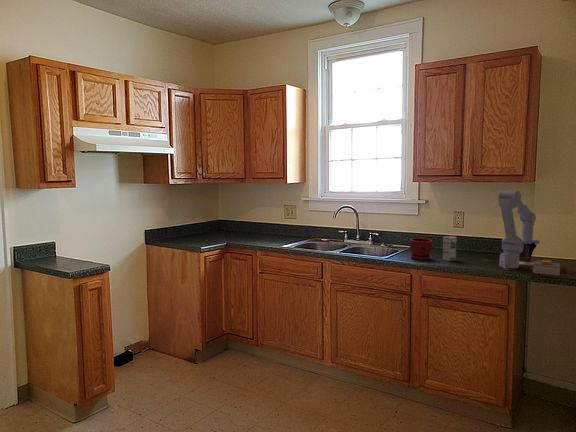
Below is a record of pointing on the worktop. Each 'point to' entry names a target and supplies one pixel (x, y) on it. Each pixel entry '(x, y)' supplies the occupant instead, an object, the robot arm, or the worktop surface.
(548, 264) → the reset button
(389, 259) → the worktop surface
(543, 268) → the switch box
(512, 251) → the robot arm
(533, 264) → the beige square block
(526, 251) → the brown rectangular block
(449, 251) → the syrup box
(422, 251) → the plant pot
